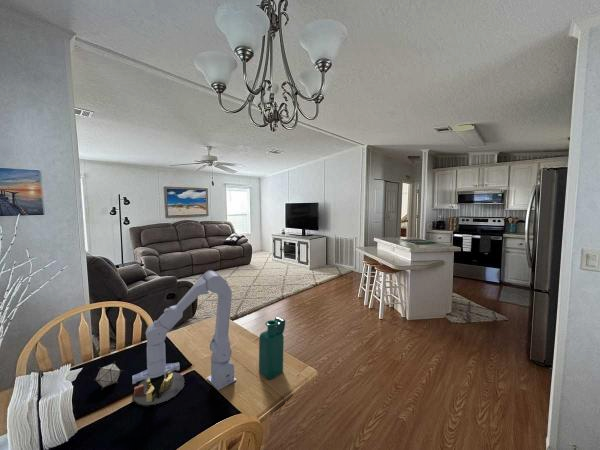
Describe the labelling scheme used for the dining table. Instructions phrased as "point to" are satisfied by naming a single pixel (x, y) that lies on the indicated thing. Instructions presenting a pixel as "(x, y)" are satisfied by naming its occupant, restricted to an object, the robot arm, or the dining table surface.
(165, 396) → the flange
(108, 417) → the dining table surface
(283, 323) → the green flip-top bottle
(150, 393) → the yellow toy key
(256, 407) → the dining table surface
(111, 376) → the game die
